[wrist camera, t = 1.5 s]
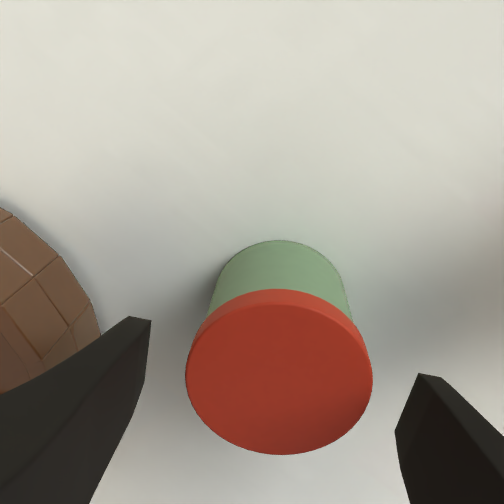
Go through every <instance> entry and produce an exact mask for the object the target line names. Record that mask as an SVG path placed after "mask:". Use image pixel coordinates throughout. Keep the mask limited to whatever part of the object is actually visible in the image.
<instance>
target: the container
mask: <svg viewBox="0 0 504 504" xmlns="http://www.w3.org/2000/svg"><path fill="white" fill-rule="evenodd" d="M185 381H186V388H187V392H188V396H189V399H190V401H191V404H192V406H193V408H194V409H195V411H196V413H197V414H198V416H199V417H200V418H201V419H202V421H203V422H204V423H205V424H206V425H207V426H208V427H209V428H210V429H211V430H212V431H213V432H215V433H216V434H217V435H219V436H220V437H222V438H223V439H225V440H226V441H228V442H230V443H232V444H234V445H236V446H238V447H241V448H244V449H247V450H250V451H254V452H258V453H264V454H272V455H290V454H299V453H305V452H309V451H313V450H316V449H319V448H321V447H324V446H326V445H328V444H330V443H332V442H334V441H336V440H337V439H339V438H340V437H342V436H343V435H345V434H346V433H347V432H348V431H349V430H350V429H351V428H352V427H353V426H354V425H355V424H356V423H357V422H358V421H359V419H360V418H361V416H362V415H363V413H364V411H365V409H366V407H367V405H368V403H369V400H370V396H371V392H372V385H373V375H372V368H371V363H370V359H369V356H368V352H367V349H366V346H365V343H364V341H363V338H362V336H361V334H360V333H359V331H358V329H357V327H356V326H355V325H354V323H353V320H352V316H351V312H350V309H349V305H348V301H347V298H346V294H345V290H344V287H343V283H342V281H341V278H340V276H339V274H338V272H337V271H336V269H335V268H334V266H333V265H332V264H331V263H330V262H329V261H328V260H327V259H326V258H325V257H324V256H323V255H321V254H320V253H319V252H317V251H315V250H314V249H312V248H310V247H308V246H305V245H303V244H299V243H295V242H290V241H268V242H263V243H259V244H256V245H253V246H250V247H248V248H246V249H244V250H242V251H241V252H240V253H238V254H237V255H235V256H234V257H233V258H232V259H231V260H230V261H229V262H228V263H227V264H226V266H225V267H224V268H223V270H222V272H221V273H220V275H219V278H218V280H217V283H216V286H215V290H214V293H213V296H212V300H211V303H210V306H209V309H208V313H207V316H206V319H205V321H204V322H203V323H202V325H201V326H200V328H199V329H198V331H197V333H196V335H195V338H194V340H193V343H192V346H191V349H190V352H189V355H188V359H187V363H186V370H185Z"/></svg>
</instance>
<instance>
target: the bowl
mask: <svg viewBox="0 0 504 504" xmlns="http://www.w3.org/2000/svg"><path fill="white" fill-rule="evenodd" d="M100 336H101V334H100V331H99V328H98V324H97V321H96V317H95V314H94V311H93V307H92V304H91V302H90V299H89V298H88V296H87V295H86V293H85V292H84V290H83V289H82V287H81V286H80V284H79V283H78V281H77V280H76V278H75V277H74V275H73V274H72V272H71V271H70V269H69V268H68V266H67V265H66V263H65V262H64V260H63V259H62V257H61V256H58V253H57V252H56V251H54V250H53V249H52V248H51V247H50V246H49V245H48V244H46V243H45V242H44V241H43V240H42V239H41V238H40V237H38V236H37V235H36V234H35V233H34V232H33V231H32V230H30V229H29V228H28V227H27V226H26V225H25V224H24V223H22V222H21V221H20V220H19V219H18V218H17V217H15V216H13V214H12V213H10V212H8V211H6V210H4V209H2V208H0V395H1V394H3V393H5V392H7V391H9V390H11V389H13V388H15V387H18V386H20V385H22V384H24V383H26V382H28V381H30V380H31V379H33V378H35V377H37V376H39V375H41V374H42V373H44V372H46V371H48V370H49V369H51V368H52V367H54V366H56V365H57V364H59V363H61V362H62V361H64V360H66V359H67V358H69V357H71V356H72V355H74V354H75V353H77V352H78V351H80V350H81V349H83V348H84V347H85V346H87V345H88V344H90V343H91V342H93V341H94V340H96V339H97V338H99V337H100Z"/></svg>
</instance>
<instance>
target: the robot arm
mask: <svg viewBox="0 0 504 504" xmlns="http://www.w3.org/2000/svg"><path fill="white" fill-rule="evenodd" d="M151 321H152V320H147V319H141V318H136V317H131V316H128V317H127V318H125V319H123V320H122V321H121V322H119V323H118V324H116V325H115V326H114V327H112V328H111V329H110V330H108V331H107V332H106V333H104V334H103V335H101V336H100V337H99V338H97V339H96V340H94V341H93V342H91V343H90V344H88V345H87V346H85V347H84V348H83V349H81V350H80V351H78V352H77V353H75V354H74V355H72V356H71V357H69V358H67V359H66V360H64V361H62V362H61V363H59V364H57V365H56V366H54V367H52V368H51V369H49V370H48V371H46V372H44V373H42V374H41V375H39V376H37V377H35V378H33V379H31V380H30V381H28V382H26V383H24V384H22V385H20V386H18V387H15V388H13V389H11V390H9V391H7V392H5V393H3V394H1V395H0V504H89V503H90V501H91V498H92V496H93V494H94V492H95V490H96V488H97V486H98V484H99V482H100V480H101V478H102V476H103V474H104V472H105V470H106V468H107V466H108V464H109V462H110V460H111V458H112V456H113V454H114V452H115V450H116V448H117V446H118V444H119V442H120V440H121V438H122V436H123V434H124V432H125V430H126V428H127V426H128V424H129V422H130V420H131V418H132V415H133V413H134V410H135V407H136V404H137V402H138V399H139V396H140V393H141V390H142V387H143V385H144V381H145V372H146V363H147V355H148V346H149V338H150V329H151ZM395 438H396V445H397V452H398V458H399V464H400V469H401V473H402V477H403V480H404V484H405V487H406V491H407V494H408V498H409V501H410V504H504V436H503V435H502V434H500V433H499V432H498V431H497V430H496V429H495V428H494V427H493V426H492V425H491V424H490V423H489V422H488V421H487V420H486V419H485V418H484V417H483V416H482V415H481V414H480V413H479V412H478V411H477V410H476V409H475V408H474V407H473V406H472V405H470V404H469V403H468V402H467V401H466V400H465V399H464V398H463V397H462V396H461V395H460V394H459V393H458V392H457V391H456V390H455V389H454V388H453V387H452V386H451V385H449V384H448V383H447V382H446V381H445V380H444V379H442V378H441V377H437V376H431V375H426V374H421V373H418V375H417V378H416V380H415V383H414V385H413V387H412V390H411V392H410V395H409V397H408V400H407V402H406V404H405V407H404V409H403V412H402V414H401V416H400V419H399V421H398V424H397V426H396V429H395Z"/></svg>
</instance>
